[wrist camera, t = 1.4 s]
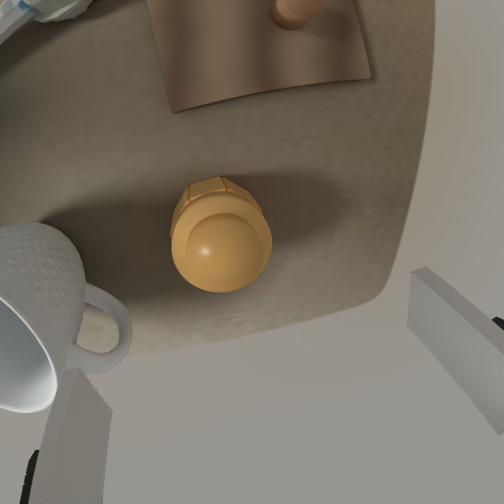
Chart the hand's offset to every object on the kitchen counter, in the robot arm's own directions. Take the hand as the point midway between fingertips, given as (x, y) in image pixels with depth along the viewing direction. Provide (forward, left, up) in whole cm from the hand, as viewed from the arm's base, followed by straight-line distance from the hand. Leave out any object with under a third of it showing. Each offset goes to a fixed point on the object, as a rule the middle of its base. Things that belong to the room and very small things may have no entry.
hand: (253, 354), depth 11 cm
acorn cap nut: (0, 0, -16) cm, 17 cm away
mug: (-15, 0, -17) cm, 23 cm away
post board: (+7, +18, -16) cm, 25 cm away
